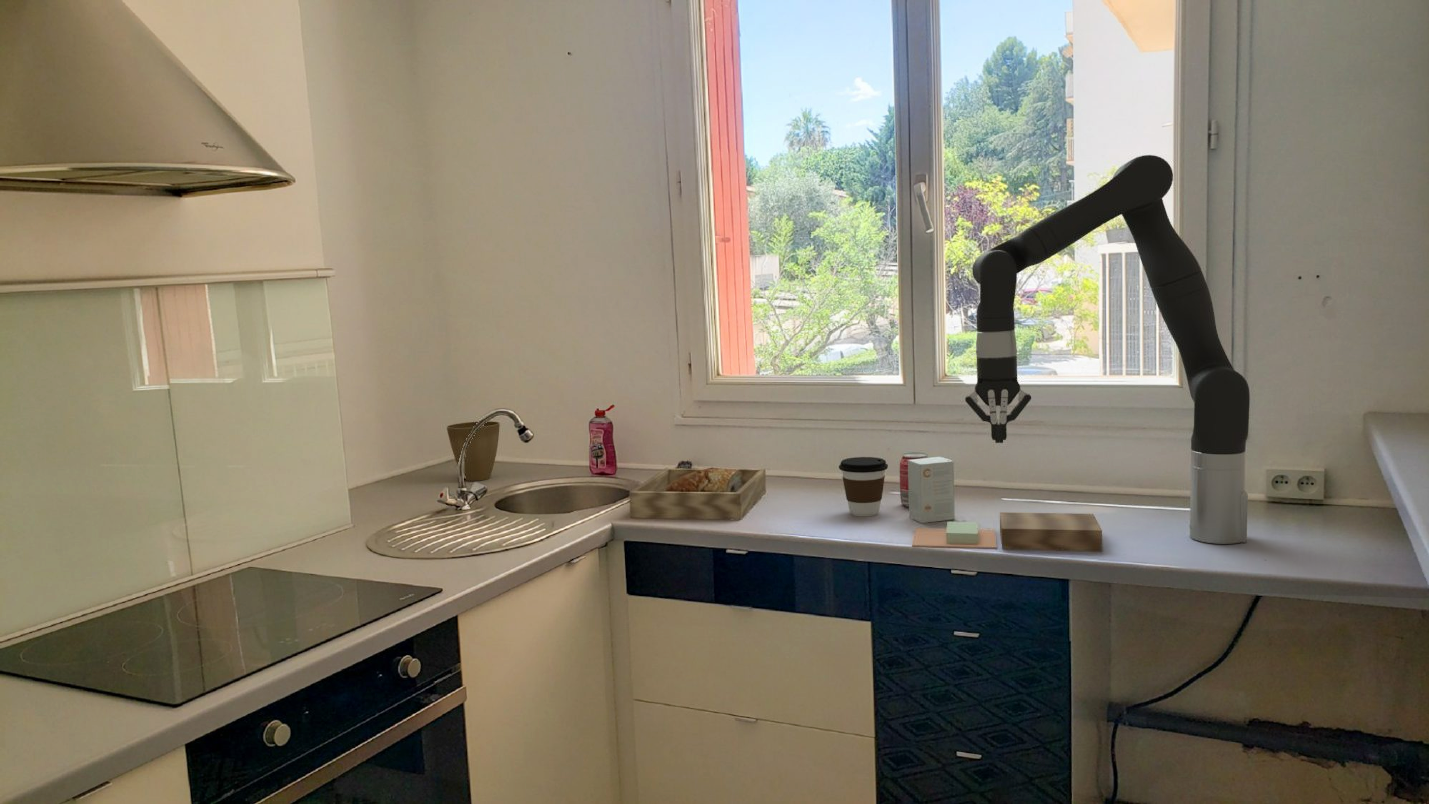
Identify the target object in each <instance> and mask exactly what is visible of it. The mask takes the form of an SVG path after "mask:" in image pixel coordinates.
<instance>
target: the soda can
mask: <svg viewBox="0 0 1429 804" xmlns="http://www.w3.org/2000/svg"><path fill="white" fill-rule="evenodd" d="M922 458H929V457H928V453H926V452H919V451H918V452H914V451H913V452H911V451H910V452H905V453H902V457H901V459H900V460H899V498H900V503H901V504H902V505H903V506H904V507H906V508H909V485H908V460H912V459H922Z"/></svg>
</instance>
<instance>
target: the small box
mask: <svg viewBox="0 0 1429 804" xmlns="http://www.w3.org/2000/svg"><path fill="white" fill-rule="evenodd" d="M954 463H955V462H954V460H951V459H949V458H946V457H943V456H933V457H928V458H922V459H912V460H908V485H909V507H908V509H909V510H908V512H909V514H908V515H909V518H911V519H913V520H914V521H916V522H918V523H920V524H926V523H927V524H928V523H934V522H941V521H942V522H943V521H950V520H955V518H956V517H955V516H956V514H955V513H956V511H955V510H956V509H955V508H956V506H955V473H954V472H955V470H954V469H955V467H954V466H955V465H954Z"/></svg>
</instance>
